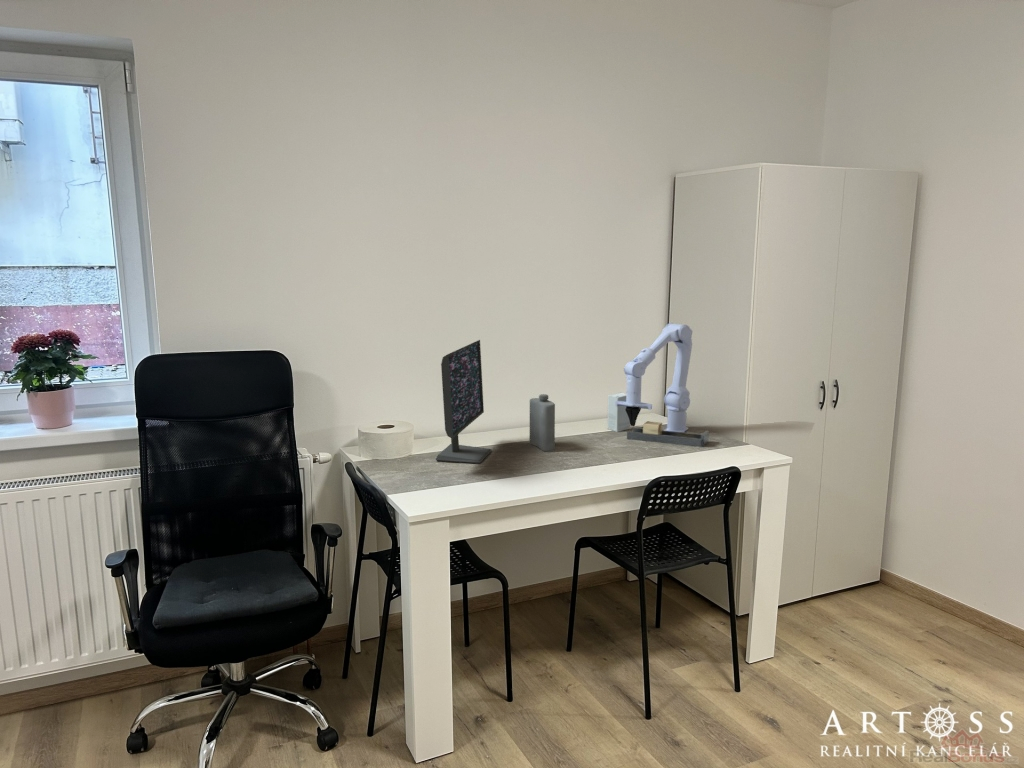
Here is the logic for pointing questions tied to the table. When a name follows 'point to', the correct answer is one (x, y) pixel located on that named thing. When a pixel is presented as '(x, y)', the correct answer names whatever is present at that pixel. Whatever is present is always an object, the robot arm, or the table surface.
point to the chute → (671, 437)
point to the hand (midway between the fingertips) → (632, 425)
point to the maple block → (652, 428)
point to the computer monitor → (462, 401)
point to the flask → (542, 423)
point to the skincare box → (617, 413)
